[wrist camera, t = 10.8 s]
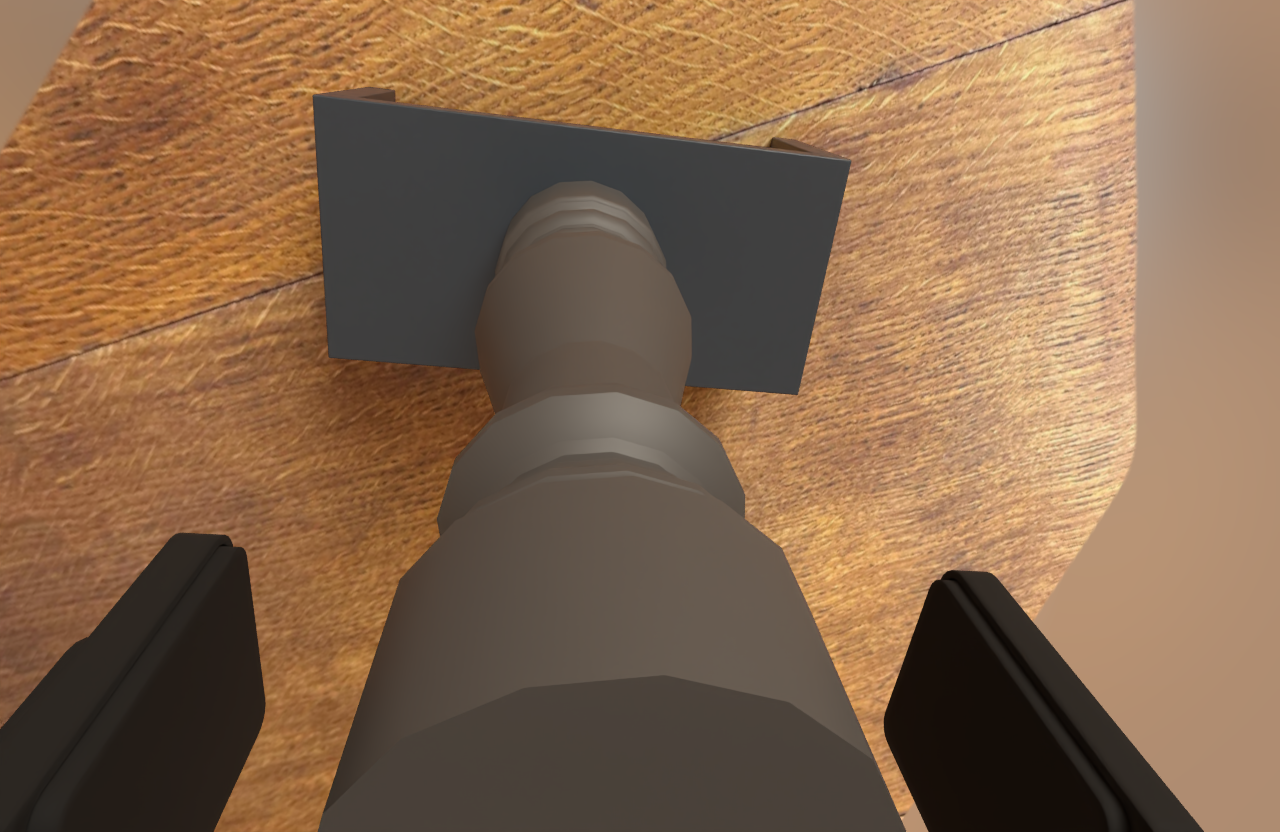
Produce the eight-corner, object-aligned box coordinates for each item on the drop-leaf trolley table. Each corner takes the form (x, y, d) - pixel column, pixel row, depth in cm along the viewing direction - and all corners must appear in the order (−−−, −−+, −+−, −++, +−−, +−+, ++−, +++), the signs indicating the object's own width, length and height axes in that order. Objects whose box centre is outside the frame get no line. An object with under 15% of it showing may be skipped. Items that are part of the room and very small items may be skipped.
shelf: (374, 301, 38) (328, 358, 30) (367, 86, 33) (311, 94, 26) (757, 335, 40) (798, 395, 33) (796, 139, 36) (852, 159, 29)
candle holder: (509, 167, 28) (247, 623, 5) (670, 192, 29) (1032, 673, 6) (496, 324, 30) (283, 1077, 8) (645, 343, 31) (835, 1066, 9)
